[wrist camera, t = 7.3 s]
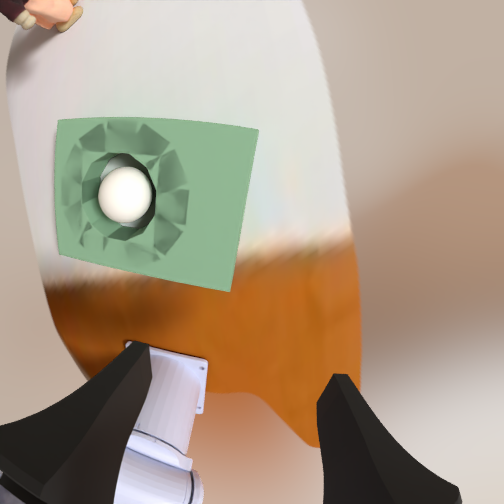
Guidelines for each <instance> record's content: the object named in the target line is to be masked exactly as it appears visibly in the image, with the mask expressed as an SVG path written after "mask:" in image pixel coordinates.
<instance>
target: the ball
mask: <svg viewBox="0 0 504 504" xmlns="http://www.w3.org/2000/svg"><path fill="white" fill-rule="evenodd" d="M98 199H99V204H100V207H101V209H102V211H103V212H104V214H105V215H106V216H107V217H108V218H110V219H111V220H113V221H115V222H119V223H129V222H133V221H135V220H137V219H139V218H140V217H142V216H143V215H144V214H145V213H146V211H147V210H148V208H149V206H150V204H151V201H152V186H151V183H150V181H149V179H148V178H147V176H146V175H145V174H144V173H143V172H142V171H140V170H138V169H136V168H134V167H120V168H117V169H115V170H113V171H111V172H110V173H109V174H108V175H107V176H106V177H105V178H104V179H103V181H102V183H101V185H100V188H99V193H98Z"/></svg>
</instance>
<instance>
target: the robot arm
mask: <svg viewBox="0 0 504 504" xmlns="http://www.w3.org/2000/svg"><path fill="white" fill-rule="evenodd" d="M207 369H208V362H207V360H205V359H202V358H197V357H192V356H187V355H183V354H178V353H174V352H170V351H165V350H161V349H157V348H153V347H150V346H149V344H146V343H142V342H138V341H133V342H131V341H128V342H127V343H126V349H125V350H123V351H122V352H121V353H120V354H119V355H118V356H117V357H116V358H115V359H114V360H113V361H112V362H111V363H109V364H108V365H107V366H106V367H105V368H104V369H102V370H101V371H100V372H99V373H98V374H97V375H95V376H94V377H93V378H92V379H90V380H89V381H88V382H87V383H85V384H84V385H83V386H81V387H80V388H79V389H77V390H76V391H74V392H73V393H72V394H70V395H68V396H67V397H65V398H64V399H62V400H61V401H59V402H57V403H55V404H53V405H52V406H50V407H48V408H46V409H44V410H42V411H40V412H38V413H36V414H33V415H31V416H28V417H26V418H23V419H21V420H18V421H15V422H12V423H8V424H4V425H1V426H0V470H1V471H2V472H3V473H2V472H1V471H0V504H202V502H203V494H204V491H203V490H204V489H203V483H202V481H201V479H200V476H199V474H198V473H197V471H195V470H193V469H191V467H192V461H193V460H192V459H190V458H188V457H186V454H187V450H188V445H189V440H190V436H191V431H192V426H193V422H194V417H195V413H196V414H202V413H203V408H204V398H205V388H206V378H207ZM317 428H318V435H319V442H320V449H321V456H322V463H323V472H324V498H323V504H462V499H461V495H460V492H459V488H458V487H457V486H455V485H453V484H451V483H450V482H447V481H446V480H444V479H442V478H440V477H439V476H437V475H436V474H434V473H433V472H431V471H430V470H428V469H427V468H426V467H424V466H423V465H422V464H421V463H419V462H418V461H417V460H416V459H415V458H413V457H412V456H411V455H410V454H409V453H408V452H407V451H406V450H405V449H404V448H403V447H402V446H401V445H400V444H399V443H398V442H397V441H396V440H395V439H394V438H393V437H392V435H391V434H390V433H389V432H388V431H387V429H386V428H385V427H384V426H383V424H382V423H381V422H380V421H379V419H378V418H377V417H376V415H375V414H374V412H373V411H372V410H371V408H370V407H369V405H368V404H367V403H366V401H365V400H364V398H363V397H362V395H361V394H360V392H359V391H358V389H357V388H356V386H355V385H354V383H353V382H352V380H351V379H350V377H349V376H348V374H333V376H332V377H331V379H330V381H329V383H328V384H327V386H326V388H325V389H324V391H323V393H322V394H321V396H320V398H319V399H318V401H317Z"/></svg>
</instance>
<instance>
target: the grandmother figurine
mask: <svg viewBox="0 0 504 504" xmlns="http://www.w3.org/2000/svg"><path fill="white" fill-rule="evenodd" d="M77 1H78V0H0V12H1V13H2V14H3V15H4V16H6V17H7V18H8V19H9V20H10V21H12V22H15V23H16V24H18V25H21V26H22V28H23V29H25V30H28V29H30V28H32V27H33V26H34V24H37V25H39V26H41V27H43V28H45V29H48V30H50V29H51V28H52V27H53V25H54V24H55V23H56V27H57V29H58V31H60V32H64V31H66V30H67V29H69V28H70V27H71V26H72V25H73V24H74V23H75V22H76V21H77V20H78V19H79V18H80V16H81V15H82V13H83V9H82V7H81V6H77V7H74V8H73V6H74V5H75V4H76V3H77Z"/></svg>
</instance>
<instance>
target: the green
mask: <svg viewBox="0 0 504 504" xmlns="http://www.w3.org/2000/svg"><path fill="white" fill-rule="evenodd" d="M258 133H259V130H258V129H252V128H246V127H240V126H233V125H226V124H218V123H209V122H200V121H190V120H178V119H163V118H140V117H98V118H76V119H62V120H58V125H57V135H56V149H55V215H56V229H57V239H58V248H59V254H60V255H64V256H67V257H71V258H75V259H79V260H83V261H87V262H91V263H95V264H99V265H103V266H107V267H112V268H116V269H120V270H125V271H129V272H133V273H138V274H142V275H147V276H152V277H156V278H161V279H166V280H170V281H175V282H180V283H185V284H190V285H195V286H200V287H206V288H211V289H216V290H222V291H227V292H230V288H231V284H232V279H233V274H234V268H235V262H236V256H237V250H238V244H239V239H240V233H241V227H242V221H243V216H244V210H245V204H246V199H247V193H248V187H249V182H250V176H251V171H252V165H253V160H254V154H255V149H256V144H257V138H258ZM119 153H127V154H130V155H131V156H133V157H134V158H135V159H136V160H138V161H139V162H140V163H141V164H143V165H144V166H145V167H147V169H148V172H149V174H150V176H151V179H152V181H153V184H154V186H155V188H156V191H157V192H156V205H155V216H154V217H153V219H152V220H151V222H150V223H149V225H148V226H145V227H143V228H141V229H137V228H132V227H126V226H122V225H120V224H119V223H118V222H115V221H113V220H111V219H110V218H108V217H107V216H106V215H105V214H104V212H103V211H102V209H101V207H100V204H99V199H98V193H99V188H100V176H101V174H102V172H103V170H104V168H105V167H106V165H107V163H108V161H109V159H111V158H112V157H114V156H116V155H117V154H119Z"/></svg>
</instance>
